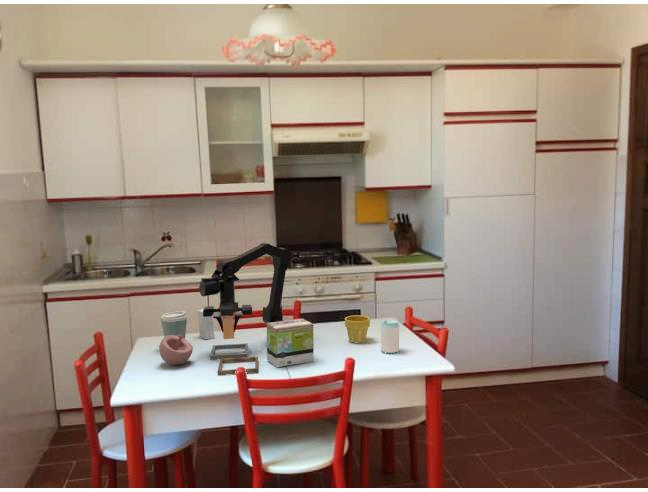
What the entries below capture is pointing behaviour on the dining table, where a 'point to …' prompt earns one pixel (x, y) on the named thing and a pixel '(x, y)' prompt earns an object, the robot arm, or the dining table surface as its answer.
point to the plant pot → (357, 327)
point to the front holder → (234, 360)
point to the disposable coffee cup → (174, 323)
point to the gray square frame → (229, 346)
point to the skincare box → (205, 326)
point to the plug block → (228, 327)
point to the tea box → (290, 342)
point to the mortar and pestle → (175, 349)
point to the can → (389, 336)
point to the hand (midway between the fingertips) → (228, 332)
